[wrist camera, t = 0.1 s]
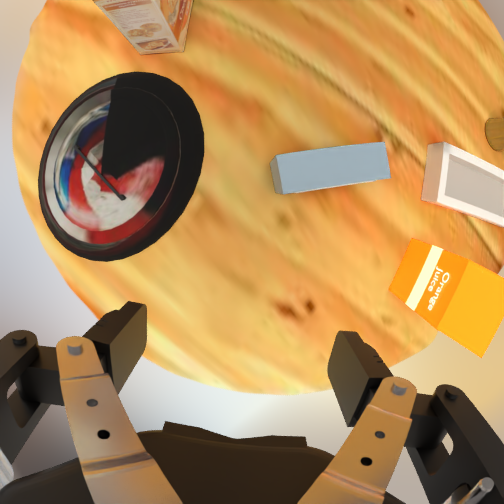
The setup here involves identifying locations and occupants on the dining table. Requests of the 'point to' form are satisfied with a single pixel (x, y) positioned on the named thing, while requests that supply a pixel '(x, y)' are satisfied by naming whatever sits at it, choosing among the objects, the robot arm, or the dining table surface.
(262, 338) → the dining table surface
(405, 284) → the orange juice
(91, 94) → the wall clock
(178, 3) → the coffeecake box
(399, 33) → the dining table surface
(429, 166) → the white rectangular tray
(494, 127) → the vase
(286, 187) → the pale blue flat slab
